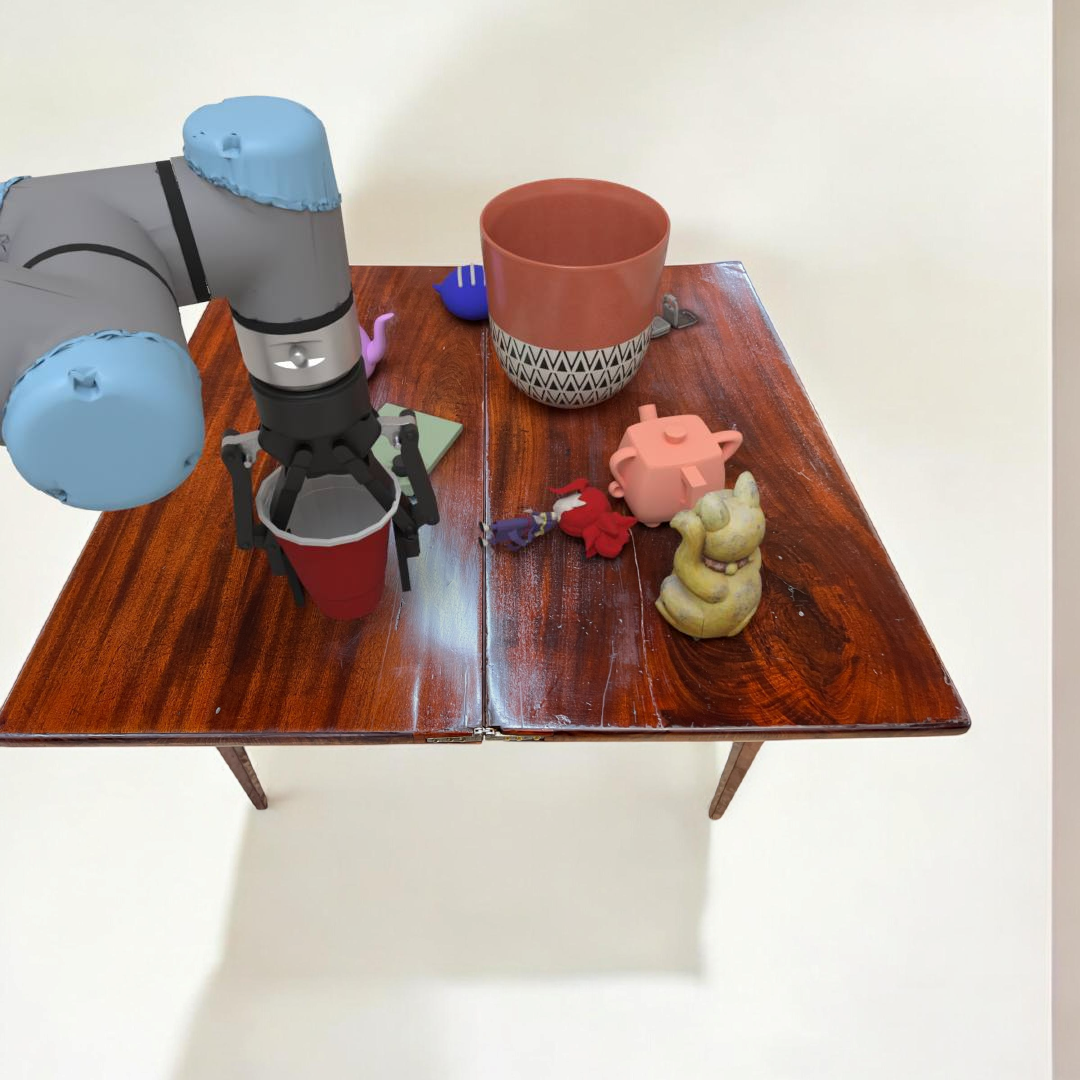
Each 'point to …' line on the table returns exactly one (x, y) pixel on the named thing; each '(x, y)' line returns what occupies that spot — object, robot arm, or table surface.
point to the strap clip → (671, 317)
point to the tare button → (399, 466)
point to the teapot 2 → (669, 464)
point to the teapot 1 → (374, 343)
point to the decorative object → (465, 292)
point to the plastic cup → (335, 541)
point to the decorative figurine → (716, 563)
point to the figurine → (569, 522)
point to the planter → (572, 285)
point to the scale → (432, 442)
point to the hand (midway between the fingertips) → (353, 586)
